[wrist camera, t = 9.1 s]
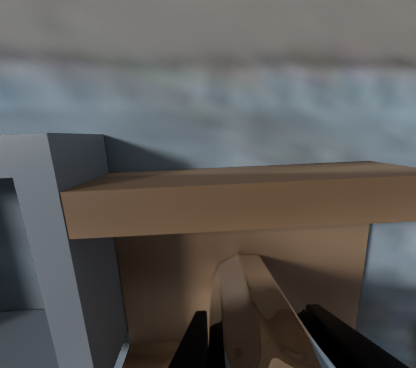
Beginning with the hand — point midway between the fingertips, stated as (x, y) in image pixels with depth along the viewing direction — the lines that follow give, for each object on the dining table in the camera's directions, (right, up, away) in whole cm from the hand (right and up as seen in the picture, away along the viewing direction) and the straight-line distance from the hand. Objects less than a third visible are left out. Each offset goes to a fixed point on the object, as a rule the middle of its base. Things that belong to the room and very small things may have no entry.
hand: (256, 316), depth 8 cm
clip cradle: (0, +1, +3) cm, 3 cm away
